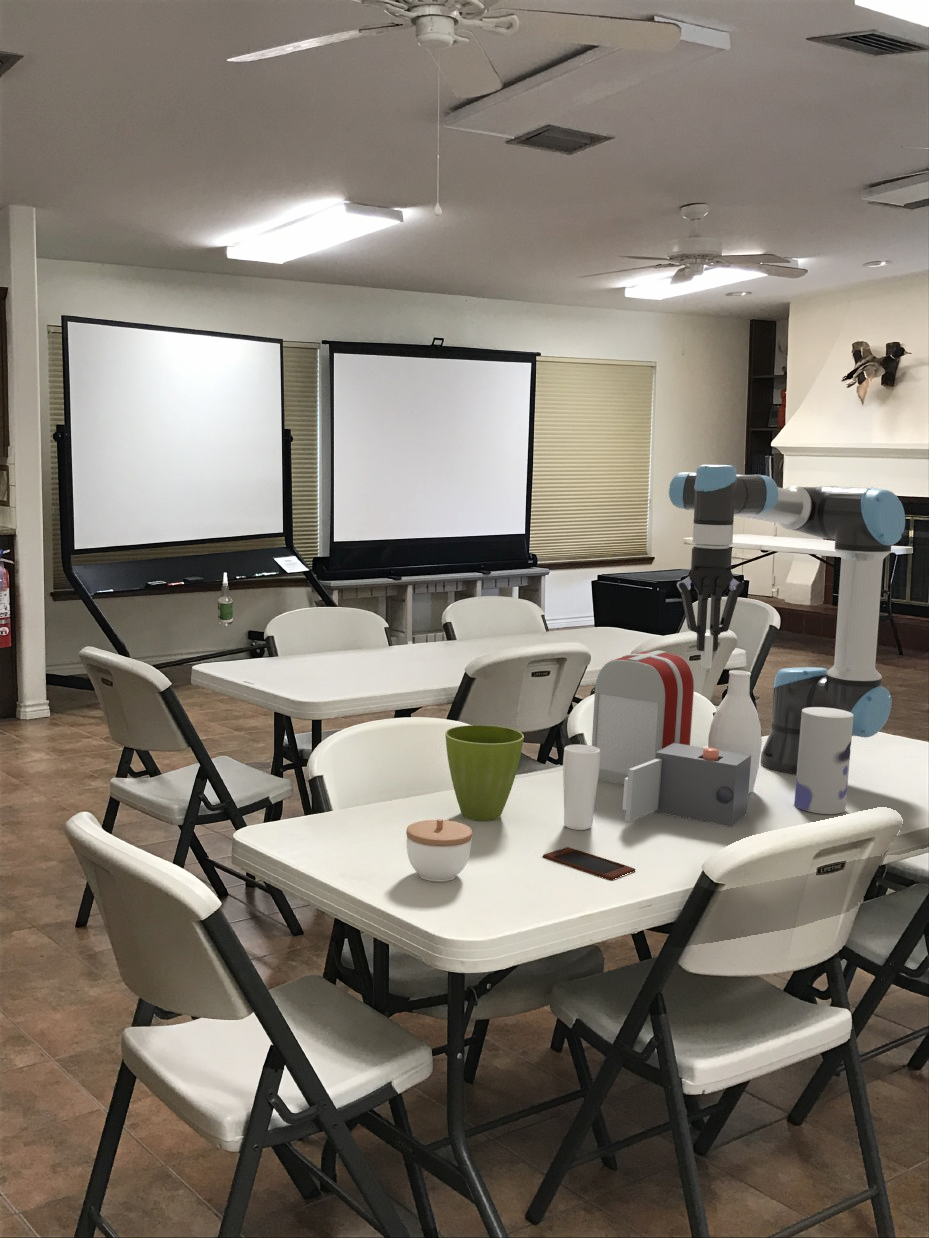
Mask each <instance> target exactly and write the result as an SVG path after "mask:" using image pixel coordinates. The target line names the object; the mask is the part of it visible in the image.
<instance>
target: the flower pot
mask: <svg viewBox="0 0 929 1238" xmlns="http://www.w3.org/2000/svg"><path fill="white" fill-rule="evenodd" d="M444 737H445V745H446V746H445V747H446V756H447V761H448V766H449V767H448V768H449V772H450V777H451V781H452V787H453V790H454V794H455V796H456V801H457V804H458V807H459V810H460V813H461V815H462V817H464V818H465V819H467V820H471V821H475V822H477V821H478V822H488V821H489V822H490V821H495V820H498V819H499V818H500V817H501V816H502V814H503V811H504V808H505V806H506V804H507V802H508V799H509V796H510V793H511V791H512V789H513V788H512V787H513V785H514V782H515V779H516V775H517V772H518V769H519V764H520V759H521V756H522V755H521V754H522V749H523V744H524V740H525V739H524V738H525V736H524V734H523V733H522V732H521V731H519V730H517V729H512V728H509V727H504V726H498V725H497V726H496V725H490V724H489V725H487V724H486V725H485V724H484V725H483V724H471V725H469V724H468V725H461V726H455V727H451V728H449V729H447V730H446V731H445V735H444Z"/></svg>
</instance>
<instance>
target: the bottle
mask: <svg viewBox="0 0 929 1238" xmlns="http://www.w3.org/2000/svg"><path fill="white" fill-rule="evenodd" d="M728 675H729V678H728V686H727V693H726V695H725V697H724V698H723V699H722V701H721V702H720V704H719V705H718V707H717V708H716V711H715V712H714V715H713V718H712V721H711V725H710V728H709V732H708V738H707V739H708V744H707V745H708V746H707V748H715V749H718V750H722V751H728V752H734V753H741V754H747V755H751V765H750V778H749V791H748V795H750V794H751V793H753V791H754V788H755V784H756V780H757V776H758V772H759V768H760V761H761V753H762V743H763V739H762V727H761V722H760V718H759V714H758V711H757V708H756V706H755V704H754V702H753V700H752V698H751V695H750V692H751V691H750V690H751V689H750V686H751V684H750V683H751V676H752V673H751V672H750V671H747V670H739V669H738V670H733V669H732V670H729V672H728Z"/></svg>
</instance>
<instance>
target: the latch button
mask: <svg viewBox="0 0 929 1238" xmlns="http://www.w3.org/2000/svg"><path fill="white" fill-rule="evenodd" d="M703 748H704V749H703V759H708V760H714V761H718V757H719V750H718V749H715V748H708V747H703Z"/></svg>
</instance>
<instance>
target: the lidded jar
mask: <svg viewBox="0 0 929 1238" xmlns="http://www.w3.org/2000/svg"><path fill="white" fill-rule="evenodd" d="M405 834H406V853H407V857H408V860H409V863H410V865H411V866H412V868H413V869H414V871H415V872H416V873H418V876H419V878H421V879H422V880H424V881H428V882H432V883H433V882H434V883H445V882H451V881H453V880H455V879H456V878H457V876H458V875H459V874H461V872H462V871H463V870H464V869H465V867H466V866H467V863H468V861H469V859H470V855H471V850H472V848H471V847H472V839H473V830H472V828H471V827H469V826H468V825H466V824H464V823H460V822H457V821H454V820H453V821H452V820H444V819H443V818H436V819H427V820H420V821H417V822H413V823H411V824H410V825H408V826H407V827H406V833H405Z"/></svg>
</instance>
